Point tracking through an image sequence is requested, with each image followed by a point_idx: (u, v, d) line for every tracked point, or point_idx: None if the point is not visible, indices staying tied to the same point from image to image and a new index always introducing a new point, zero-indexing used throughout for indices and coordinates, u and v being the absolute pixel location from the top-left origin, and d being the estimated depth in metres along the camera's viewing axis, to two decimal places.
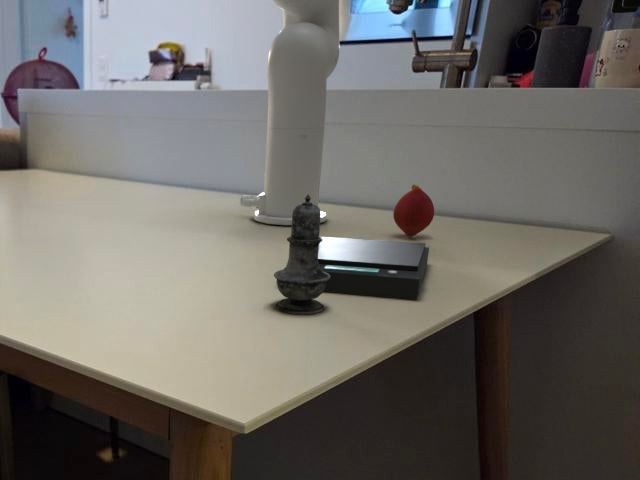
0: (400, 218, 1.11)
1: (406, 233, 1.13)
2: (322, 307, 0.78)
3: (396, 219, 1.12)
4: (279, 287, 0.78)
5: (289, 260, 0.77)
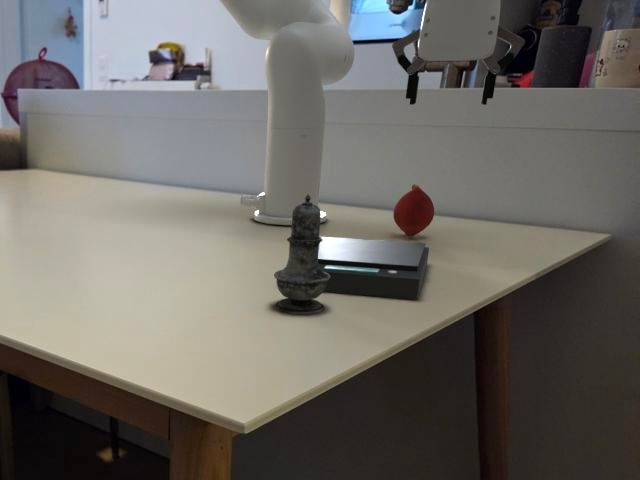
0: (400, 218, 1.11)
1: (406, 233, 1.13)
2: (322, 307, 0.78)
3: (396, 219, 1.12)
4: (279, 287, 0.77)
5: (289, 260, 0.77)
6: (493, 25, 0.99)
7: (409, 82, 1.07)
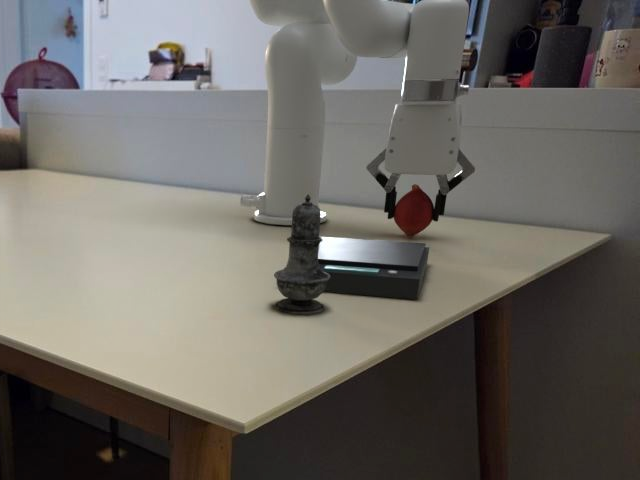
0: (400, 218, 1.11)
1: (406, 233, 1.13)
2: (322, 307, 0.78)
3: (396, 219, 1.12)
4: (279, 287, 0.77)
5: (289, 260, 0.77)
6: (453, 145, 1.05)
7: (387, 198, 1.12)
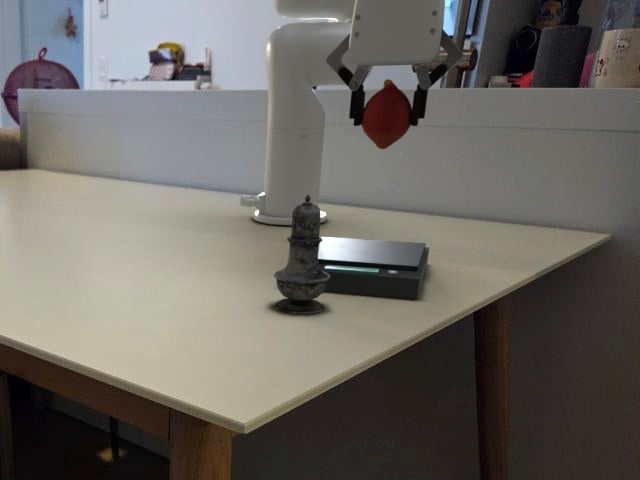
0: (369, 123, 0.88)
1: (377, 144, 0.89)
2: (322, 307, 0.78)
3: (364, 125, 0.89)
4: (279, 287, 0.77)
5: (289, 260, 0.77)
6: (435, 22, 0.81)
7: (352, 99, 0.89)
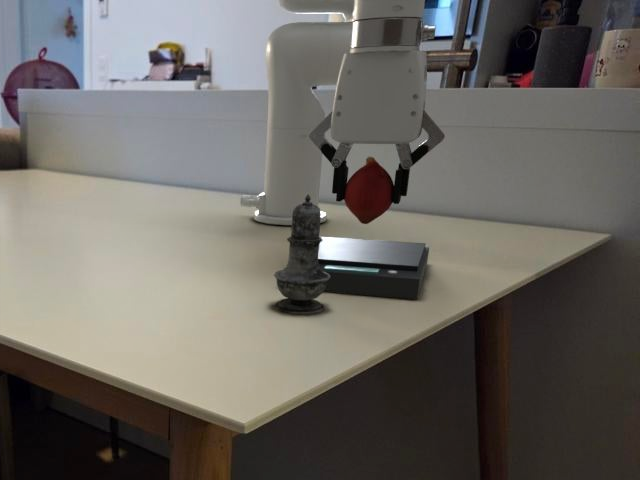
0: (351, 200, 0.88)
1: (360, 219, 0.90)
2: (322, 307, 0.78)
3: (347, 201, 0.89)
4: (279, 287, 0.77)
5: (289, 260, 0.77)
6: (416, 105, 0.82)
7: (335, 175, 0.89)
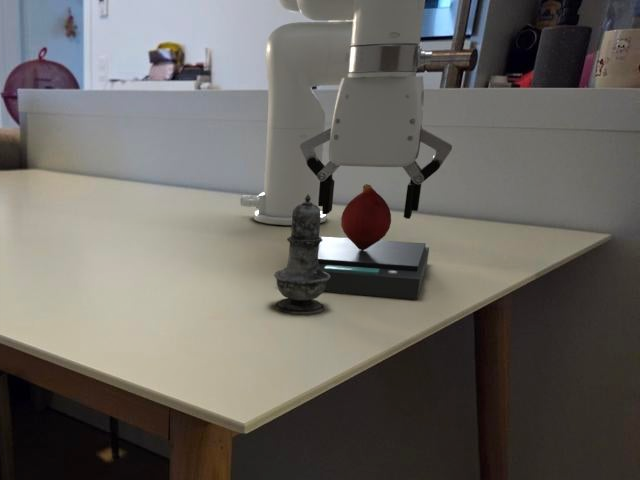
0: (348, 227, 0.89)
1: (357, 245, 0.91)
2: (322, 307, 0.78)
3: (344, 228, 0.90)
4: (279, 287, 0.78)
5: (289, 260, 0.77)
6: (413, 129, 0.83)
7: (321, 188, 0.90)
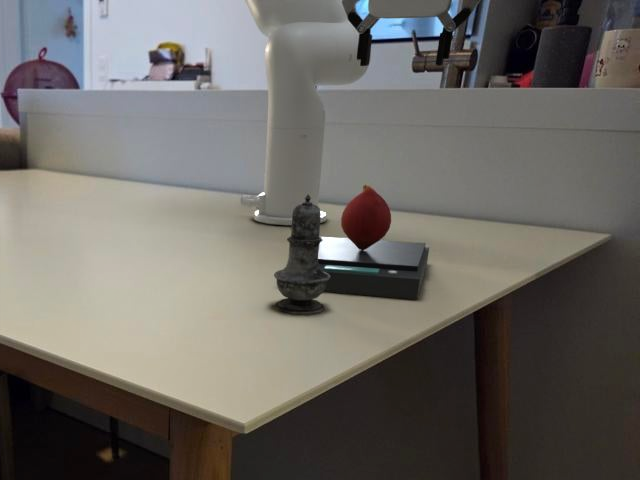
0: (348, 227, 0.89)
1: (357, 245, 0.91)
2: (322, 307, 0.78)
3: (344, 228, 0.90)
4: (279, 287, 0.77)
5: (289, 260, 0.77)
6: None
7: (360, 41, 0.99)
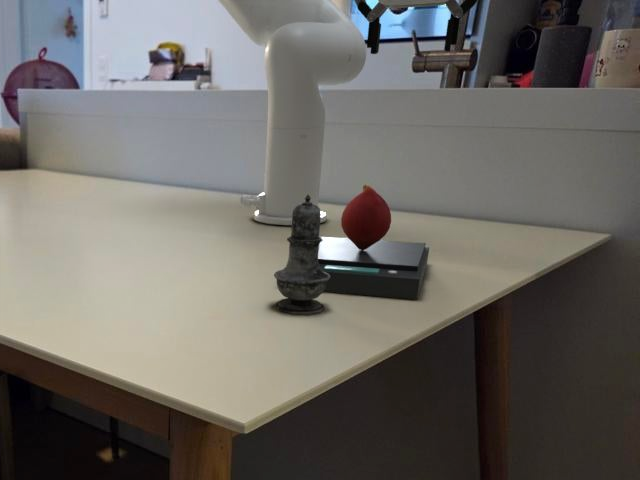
0: (348, 227, 0.89)
1: (357, 245, 0.91)
2: (322, 307, 0.78)
3: (344, 228, 0.90)
4: (279, 287, 0.78)
5: (289, 260, 0.77)
6: None
7: (370, 30, 1.02)
